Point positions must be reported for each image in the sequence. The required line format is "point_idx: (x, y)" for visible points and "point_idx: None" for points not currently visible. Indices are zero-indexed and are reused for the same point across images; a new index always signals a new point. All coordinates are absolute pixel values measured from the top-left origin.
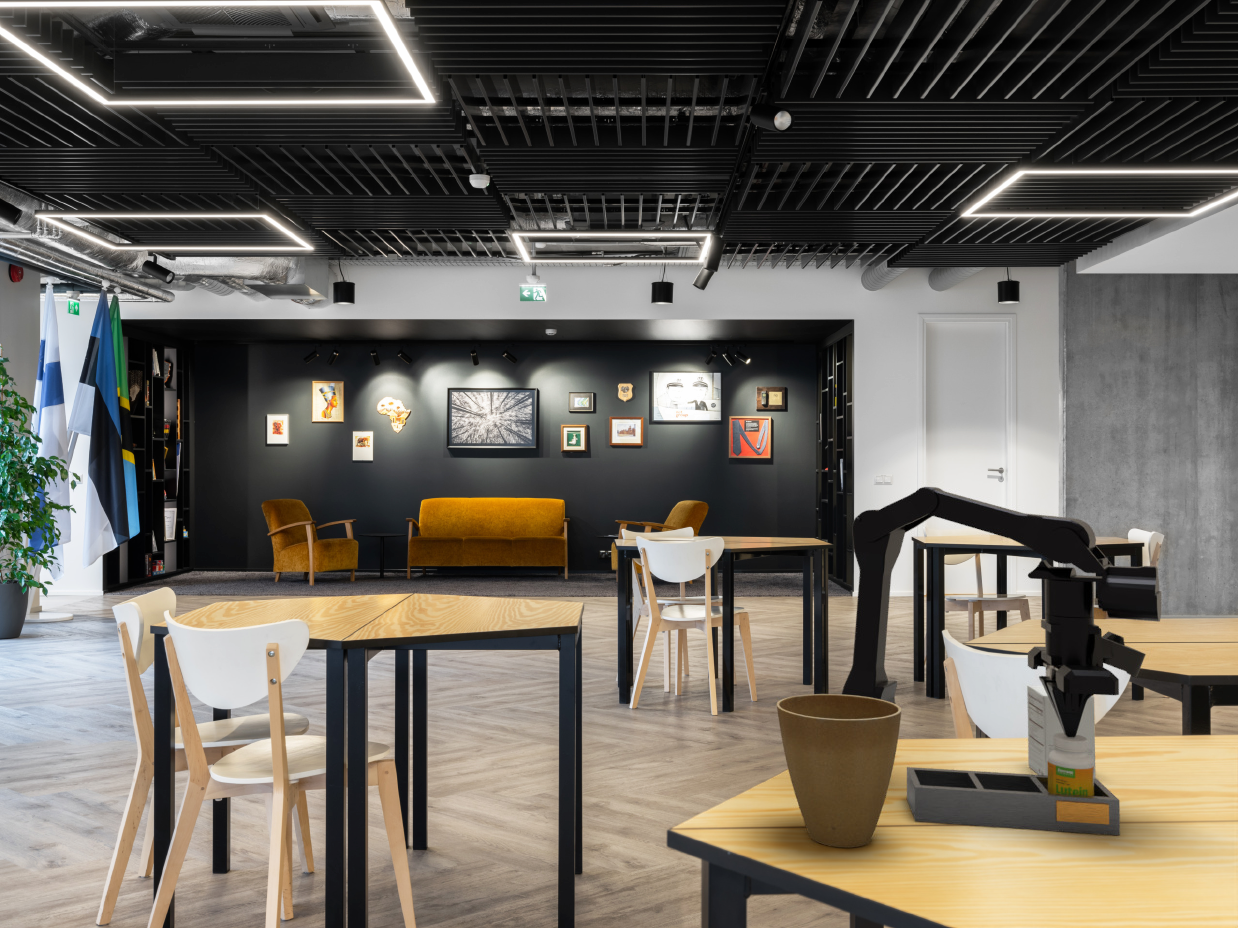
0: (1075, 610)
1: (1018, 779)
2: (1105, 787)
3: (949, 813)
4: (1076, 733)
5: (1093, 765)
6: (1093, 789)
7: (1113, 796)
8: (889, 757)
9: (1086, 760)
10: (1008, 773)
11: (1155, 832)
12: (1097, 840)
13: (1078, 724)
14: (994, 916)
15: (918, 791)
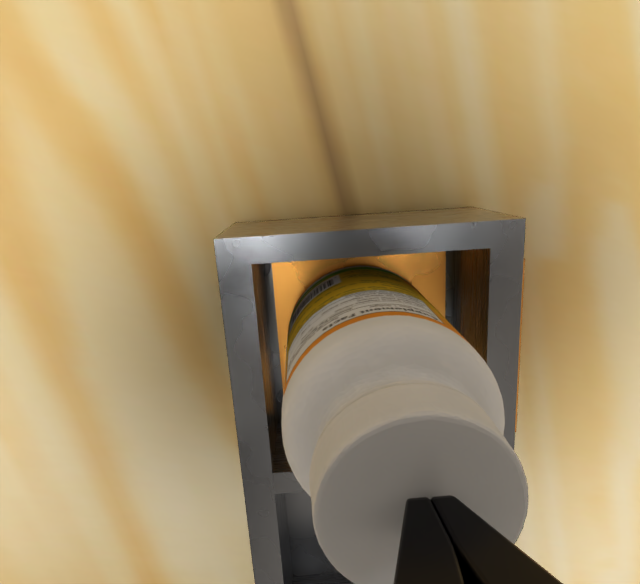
0: None
1: (279, 516)
2: (349, 231)
3: None
4: (465, 505)
5: (434, 323)
6: (410, 293)
7: (477, 229)
8: None
9: (486, 379)
10: (258, 555)
11: (416, 74)
12: (528, 285)
13: (526, 558)
14: None
15: None
